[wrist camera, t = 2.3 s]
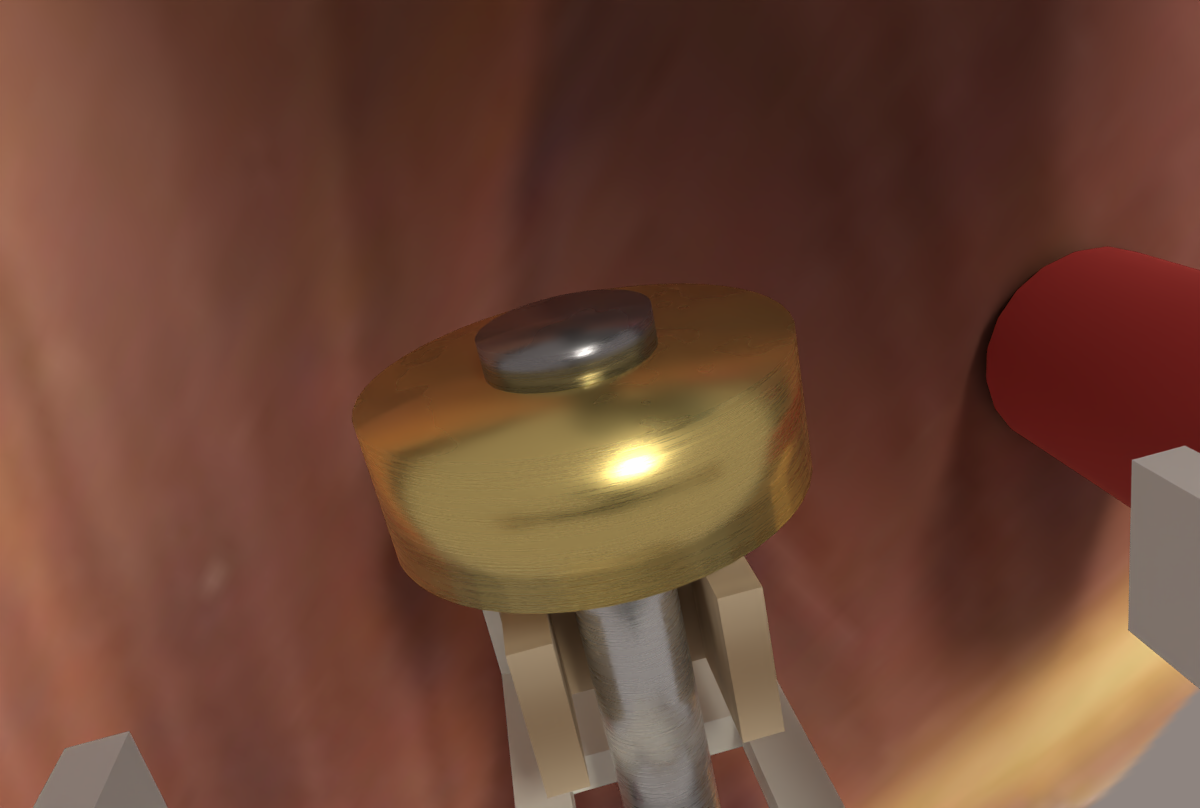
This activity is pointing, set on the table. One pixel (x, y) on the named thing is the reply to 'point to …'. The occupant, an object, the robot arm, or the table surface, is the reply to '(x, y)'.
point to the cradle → (714, 631)
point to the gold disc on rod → (598, 484)
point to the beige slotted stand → (779, 761)
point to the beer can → (1101, 362)
